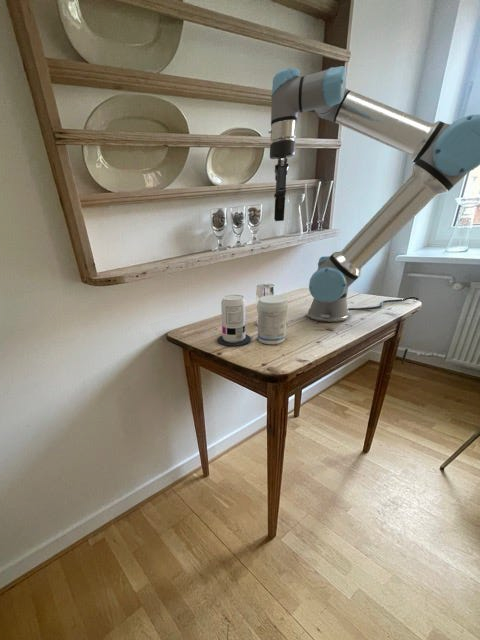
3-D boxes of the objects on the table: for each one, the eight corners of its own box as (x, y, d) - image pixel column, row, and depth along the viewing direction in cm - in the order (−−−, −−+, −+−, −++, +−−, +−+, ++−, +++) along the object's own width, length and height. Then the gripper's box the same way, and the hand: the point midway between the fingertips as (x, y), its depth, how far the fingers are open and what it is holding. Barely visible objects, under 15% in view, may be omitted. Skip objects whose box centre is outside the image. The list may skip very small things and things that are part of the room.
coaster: (239, 331, 115) (240, 330, 115) (257, 341, 106) (257, 340, 105) (212, 338, 112) (212, 337, 112) (227, 349, 102) (227, 348, 102)
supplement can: (217, 340, 109) (216, 298, 101) (232, 333, 114) (231, 293, 106) (235, 345, 104) (234, 301, 96) (249, 337, 108) (250, 295, 101)
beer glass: (259, 320, 125) (260, 283, 118) (275, 321, 122) (277, 284, 114) (252, 325, 121) (253, 287, 113) (268, 327, 117) (270, 288, 109)
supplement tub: (259, 334, 111) (260, 294, 104) (285, 335, 108) (288, 294, 101) (255, 344, 103) (256, 302, 96) (284, 346, 100) (287, 302, 93)
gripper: (269, 149, 103) (267, 219, 113) (270, 135, 82) (267, 222, 93) (292, 146, 101) (288, 217, 112) (299, 131, 80) (292, 220, 91)
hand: (278, 220), depth 102 cm, fingers open, 13 cm apart
